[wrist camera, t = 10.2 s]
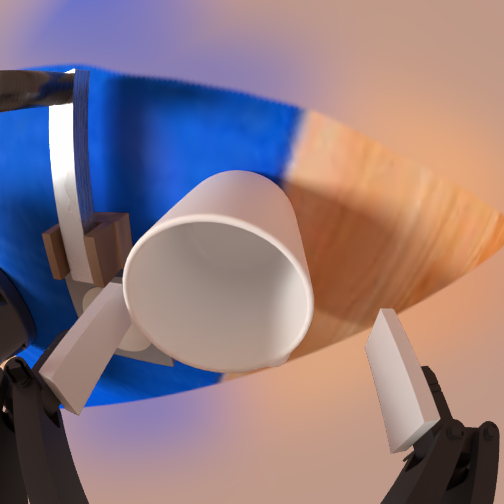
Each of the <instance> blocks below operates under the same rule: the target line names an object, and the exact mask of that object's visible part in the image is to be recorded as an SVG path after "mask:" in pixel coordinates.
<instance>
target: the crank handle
mask: <svg viewBox="0 0 504 504" xmlns="http://www.w3.org/2000/svg"><path fill="white" fill-rule="evenodd" d="M89 77H90V71H85V70H78V69H74V70H71V71H68V72H65V73H62V72H49V71H29V70H1V71H0V112H6V111H13V110H20V109H28V108H38V107H50V117H49V126H50V154H51V167H52V177H53V186H54V194H55V201H56V207H57V213H58V219H59V224H60V229H61V234H62V239H63V243H64V248H65V252H66V256H67V260H68V264H69V267H70V271H71V275H72V278H73V280H75V281H81V282H86V283H92V284H94V283H93V279H92V275H91V271H90V267H89V263H88V259H87V254H86V250H85V245H84V240H83V236H85V235H86V234H87V233H89V232H90V231H91V230H93V229H94V228H95V227H96V221H95V214H94V207H93V199H92V190H91V180H90V168H89V151H88V93H89Z"/></svg>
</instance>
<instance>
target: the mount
mask: <svg viewBox="0 0 504 504" xmlns="http://www.w3.org/2000/svg"><path fill="white" fill-rule="evenodd" d="M94 214H95V221H96V227H95V228H94V229H93V230H91V231H90V232H89V233H87V234H86V235H85V236H83V240H84V245H85V250H86V254H87V259H88V263H89V267H90V271H91V275H92V279H93V283H94V286H96V287H102V288H105V287H106V286H107V285H108V284H109V282H110V281H111V280H112V279H113V278H114V277H115V276H116V274H117V273H118V272H119V271H120V270H121V269H124V267H125V264H126V261H127V258H128V256H129V254H130V252H131V250H132V248H133V244H132V237H131V229H130V220H129V213H114V212H94ZM42 237H43V241H44V245H45V249H46V253H47V257H48V260H49V264H50V267H51V271H52V274H53V277H54V279H58V280H62V279H64V278H65V277H66V276H67V275H68V274H69V273H70V272H71V271H70V267H69V264H68V260H67V256H66V252H65V248H64V243H63V239H62V234H61V229H60V224H59V223H58V224H56V225H55V226H53V227H51V228H50V229H48V230H47V231H45V232H44V233H42Z"/></svg>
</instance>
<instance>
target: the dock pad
mask: <svg viewBox="0 0 504 504" xmlns="http://www.w3.org/2000/svg"><path fill="white" fill-rule="evenodd" d="M123 273H124V270H120V271H119V272H118V273H117V274H116V276H115V277H114V278H113V279H112V280H111V281H110V282H112V283H118V284H122V288H123ZM65 280H66V284H67V287H68V290H69V293H70V296H71V299H72V302H73V305H74V307H75V310H76V313H77V315H78V318H80V316H81V315H82V314H83V313H84V312H85V310H86V309H87V308H88V307H89V306H90V304H91V303H92V302H93V301H94V300H95V299H96V297H97V296H98V295H99V294H100V293H101V292H102V290H103V289H104V288H102V287H96V286H94V284H92V283H86V282H81V281H75V280H73V278H72V275H71V272H70V273H69V274H68V275H67V276H66V277H65ZM128 313H129V311H128ZM129 316H130V320H131V326H130V327H129V329H128V331H127V332H126V334H125V335H124V337H123V339H122V340H121V342H120V344H119V345H118V347H117V349H116V350H115V352H114V354H116V355H120V356H124V357H128V358H133V359H137V360H142V361H146V362H151V363H156V364H161V365H166V366H171V367H174V364H175V361H176V360H175V359H174V358H172V357H170V356H168V355H167V354H165V353H164V352H162V351H161V350H160V349H158V348H157V347H156V346H155V345H153V344H152V343H151V342H150V341H149V340H148V339H147V338H146V337H145V336H144V335H143V334H142V332H141V331H140V330H139V328H138V327H137V326H136V324H135V322H134V321H133V319H132V317H131V315H130V313H129Z"/></svg>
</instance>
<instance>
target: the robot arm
mask: <svg viewBox="0 0 504 504" xmlns="http://www.w3.org/2000/svg"><path fill="white" fill-rule="evenodd" d="M130 326H131V320H130V316H129V313H128V309H127V306H126V302H125V299H124V293H123V288H122V284H118V283H112V282H109V284H108V285H107V286H106V287H105V288H104V289H103V290H102V292H101V293H100V294H99V295H98V296H97V297H96V299H95V300H94V301H93V302H92V303H91V304H90V306H89V307H88V308H87V309H86V310H85V312H84V313H83V314H82V315H81V316H80V318H79V319H78V320H77V321H76V323H75V324H74V325H73V326H72V328H71V329H70V330H67V329H65V330H64V331H62V332H61V333H59V334H58V335H57V336H56V337H55V339H54V340H53V341H52V344H50V345H49V346H48V348H47V349H46V350H45V351H44V353H43V354H42V355H41V357H40V358H39V360H38V361H37V362H36V364H35V365H34V366H33V368H32V369H30V367H29V366H28V364H27V363H26V361H25V360H24V359H23V358H21V357H14V358H12V359H10V358H11V357H13V356H15V355H17V354H18V353H20V352H22V351H23V350H25V349H27V348H28V347H29V346H30V344H31V343H32V342H33V341H34V339H35V337H36V330H35V325H34V322H33V319H32V317H31V315H30V312H29V310H28V308H27V306H26V304H25V303H24V301H23V299H22V298H21V296H20V294H19V293H18V291H17V290H16V288H15V287H14V285H13V284H12V283H11V281H10V280H9V279H8V278H7V276H6V275H5V274H4V273H3V272H2V271H1V270H0V365H1V364H2V363H3V362H4V361H6V360H8V359H10V360H9V361H8V362H7V363H6V364H5V366H4V370H2V369H1V368H0V504H28V498H29V502H30V504H89V503H88V500H87V498H86V495H85V493H84V490H83V488H82V485H81V483H80V480H79V477H78V474H77V471H76V468H75V465H74V462H73V459H72V455H71V452H70V449H69V445H68V441H67V437H66V433H65V429H64V425H63V420H62V415H61V411H60V409H59V405H60V404H62V405H63V406H64V408H65V409H66V410H68V411H70V412H72V413H74V414H76V415H78V416H79V415H80V413H81V411H82V409H83V407H84V405H85V403H86V401H87V400H88V398H89V396H90V394H91V392H92V390H93V389H94V387H95V385H96V383H97V381H98V380H99V378H100V376H101V374H102V373H103V371H104V369H105V367H106V366H107V364H108V362H109V360H110V359H111V357H112V355H113V354H114V352H115V350H116V349H117V347H118V345H119V344H120V342H121V340H122V339H123V337H124V335H125V334H126V332H127V331H128V329H129V327H130ZM365 350H366V353H367V357H368V361H369V364H370V368H371V371H372V375H373V379H374V382H375V386H376V390H377V394H378V398H379V402H380V406H381V410H382V414H383V418H384V423H385V428H386V432H387V437H388V442H389V447H390V452H391V453H397V452H402V451H406V450H407V449H409V447H411V446H412V445H413V447H414V451H413V452H411V453H410V454H409V455H408V456H407V457H406V458H404V460H403V461H404V462H405V461H406V460H407V459H408V460H407V462H406V464H405V466H404V468H403V469H402V471H401V473H400V474H399V476H398V478H397V479H396V481H395V483H394V484H393V486H392V487H391V489H390V491H389V492H388V493H387V495H386V496H385V498H384V499H383V501H382V502H381V504H493V501H494V496H495V489H496V482H497V474H498V462H499V429H498V427H497V426H496V424H494V423H493V422H491V421H486V422H484V423H483V424H482V425H481V426H480V427H479V428H472V427H464V425H463V424H462V423H461V422H460V421H459V420H455V419H453V418H452V416H451V413H450V410H449V408H448V405H447V402H446V400H445V397H444V395H443V392H441V388H440V385H438V381H437V378H436V376H435V374H434V373H433V372H432V370H431V369H430V368H429V367H428V366H422V367H421V366H420V364H419V362H418V360H417V357H416V355H415V353H414V351H413V348H412V346H411V344H410V342H409V340H408V337H407V335H406V333H405V331H404V329H403V327H402V325H401V323H400V321H399V319H398V317H397V315H396V313H395V311H394V309H391V308H380V311H379V313H378V316H377V319H376V321H375V324H374V326H373V329H372V331H371V333H370V336H369V338H368V340H367V343H366V345H365ZM3 406H4V407H5V408H6V410H5V412H3V411H2V410H3ZM27 495H28V496H27Z"/></svg>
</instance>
